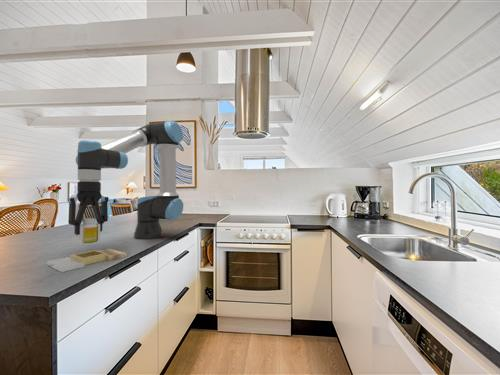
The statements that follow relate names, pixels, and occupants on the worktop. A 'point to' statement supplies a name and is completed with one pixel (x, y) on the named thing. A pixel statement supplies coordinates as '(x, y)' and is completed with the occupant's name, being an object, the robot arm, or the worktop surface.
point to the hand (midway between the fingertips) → (88, 241)
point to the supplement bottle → (89, 231)
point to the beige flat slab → (113, 254)
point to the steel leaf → (77, 260)
